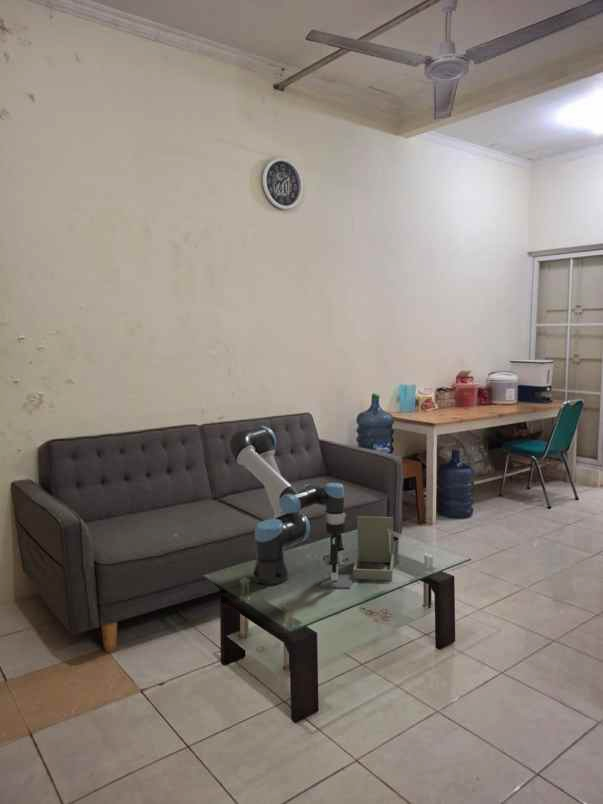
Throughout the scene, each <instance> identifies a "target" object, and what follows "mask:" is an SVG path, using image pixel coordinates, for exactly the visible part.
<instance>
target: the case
mask: <svg viewBox="0 0 603 804" xmlns="http://www.w3.org/2000/svg"><path fill="white" fill-rule="evenodd" d="M356 524H357V527H356V531H357V555H356V557H355V558H356V559H355V561H354V565H353V569H352V570H353V571H352V573H353V574H352V575H353V580H373V581H393V576H394V574H393V572H394V565H395V564H394V563H395V555H394V554H395V552H394V551H395V550H394V549H395V545H394V544H395V543H394V540H395V539H394V516H363V515H362V516H361V515H359V516H358V515H357V516H356ZM361 562H362V563H363V562H366V563H367V562H368V563H389V565H390V566H389V569H371V568H370V569H368V568H359V567H360V563H361Z"/></svg>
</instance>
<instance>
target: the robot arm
mask: <svg viewBox="0 0 603 804" xmlns="http://www.w3.org/2000/svg"><path fill="white" fill-rule="evenodd" d="M227 444H228V445H227V446H228V452H229V454H230V455H231V457H232V459H233V460H234V461H235V463H237V464H238V465H240V466H241V465H242V466H244V468H246V469H247V471H248V472H250V473H251V474H252V475H253V476H254V477H255V479H257V480H258V481H259V482H260V483H261V484H262V485H264V486H263V487H264V489H265V492H266V494H267V496H268V499H269V503H270V505H271V507H272V509H273V513H274V515H273V518H270V519H264V520H262V521H259V523H257V524H256V525H255V528H254V543H255V564H254V567H253V571H252V579H253V578H254V579H255V581H257V582H258V583H257V584H259V583H261V584H260V585H266V586H267V585H268V586H271V585H272V586H273V585H280V584H282V583H284V582H286V581H288V580H289V578H290V572H289V571H290V570H289V567H288V566H287V562H286V561H285V549H287V548H289V547H291V546H294V545H296V544H297V545H298V544H300V543H302V542H303V541H305V540H307V538H308V537H309V534H310V531H311V525H310V522H309V519H308V517H307V516H306V515H304V513H300V511H301V510H304V509H308V508H310V507H313V506H316V505H318V506H324V507H325V522H326V523H325V525H326V529H325V530H326V532H327V533H329V534H331V536H330V551H329V552H330V554H329V555H330V559H329V561H330V562H329V564H330V565H331V566H330V574H331V580H338V574H339V570H338V564H337V558H338V555H339V557H340V558H341V559H343V551H345V547H343V539H342V534H343V533H345V532H346V522H345V519H346V518H345V517H347V514H346V513H345V489H344V485H343V484H342V483H340V482H330V483H326V484H325V486H321V485H316V484H313V483H312V484H309V483H306V484H304V485H303V486H302V488H300V490H297V488H295V487H294V486H293V485H291V483H289V481H287V480H286V478H284V476H282V474H281V472H280V469H279V467H278V464H277V461H276V459H275V456H274V455H275V453H276V449H275V447H276V446H277V437H276V435H275V432H273V430H272V429H271V428H269V427H267V426H265V425H259V426H258V425H257V426H253V427H248V428H245V429H238V430H236V431H234V432H233V433H232V434H231V436H230V437H229V438H228V443H227ZM340 563H343V562H340ZM255 581H254V582H255Z"/></svg>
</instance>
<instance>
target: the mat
mask: <svg viewBox="0 0 603 804" xmlns="http://www.w3.org/2000/svg"><path fill="white" fill-rule="evenodd" d="M338 574H339V573H338ZM353 580H354V579H353V574H342V573H341V574H339V580H338V581H335V580H331V573H324V575H323V577H322V580H321V583H320V585H319V587H320V588H329V589H346V588H350V587H352V584H353V582H354V581H353ZM341 587H343V588H341ZM350 589H351V588H350Z"/></svg>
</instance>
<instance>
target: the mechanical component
mask: <svg viewBox="0 0 603 804" xmlns="http://www.w3.org/2000/svg"><path fill="white" fill-rule="evenodd" d="M349 558H350V557H349V556H344V558H342V559H341V558H340V557H339V555H338V558H337V564H338V571H339V570H340V567H341V568H343V567H346V566H347V563H348V562H349V561H350V560H349ZM322 561H324V564H325V566H326V567H331V565H330V564H329V562H330V554H325V555H324V556H322ZM340 562H342V563H340ZM338 580H339V573H338ZM338 580H335V581H338Z"/></svg>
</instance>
